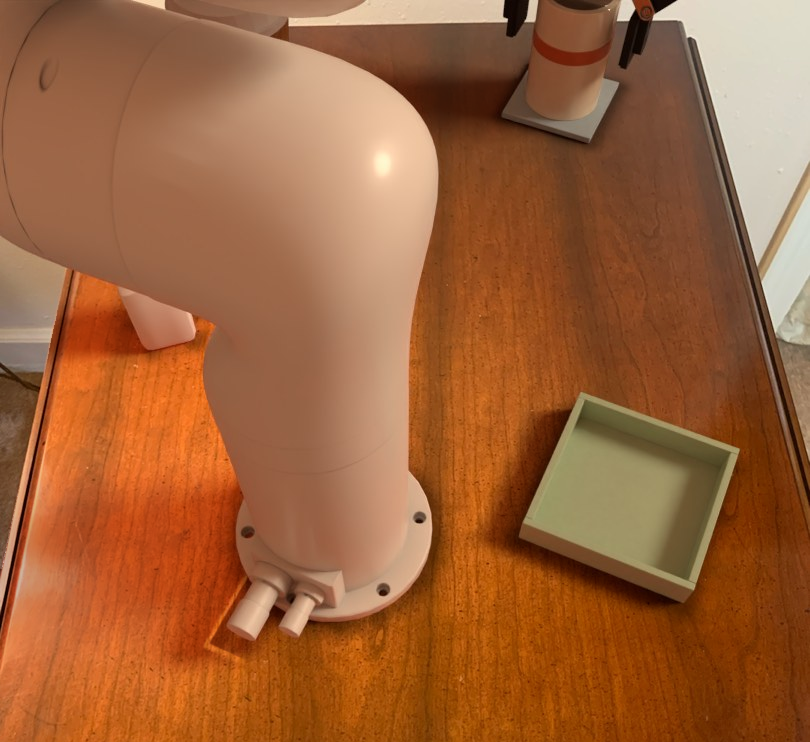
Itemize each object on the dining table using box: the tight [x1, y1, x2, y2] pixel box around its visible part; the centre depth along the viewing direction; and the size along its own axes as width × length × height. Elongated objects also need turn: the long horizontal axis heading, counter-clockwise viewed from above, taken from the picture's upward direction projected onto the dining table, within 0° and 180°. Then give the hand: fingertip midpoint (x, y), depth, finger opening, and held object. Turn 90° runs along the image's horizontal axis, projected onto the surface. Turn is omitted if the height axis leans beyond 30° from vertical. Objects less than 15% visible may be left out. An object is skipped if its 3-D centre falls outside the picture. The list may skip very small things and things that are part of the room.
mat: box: [501, 69, 620, 144], centre depth 71 cm, size 8×8×1 cm
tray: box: [518, 391, 741, 604], centre depth 53 cm, size 11×11×2 cm
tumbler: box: [525, 0, 622, 121], centre depth 67 cm, size 6×6×9 cm
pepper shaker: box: [116, 285, 197, 351], centre depth 56 cm, size 4×4×10 cm
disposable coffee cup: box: [164, 0, 290, 42], centre depth 65 cm, size 10×10×12 cm
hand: (571, 43), depth 67 cm, fingers open, 9 cm apart
